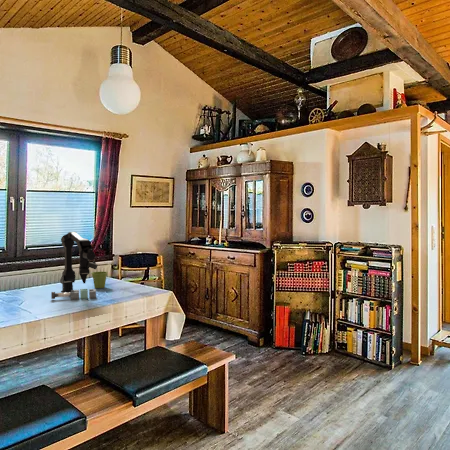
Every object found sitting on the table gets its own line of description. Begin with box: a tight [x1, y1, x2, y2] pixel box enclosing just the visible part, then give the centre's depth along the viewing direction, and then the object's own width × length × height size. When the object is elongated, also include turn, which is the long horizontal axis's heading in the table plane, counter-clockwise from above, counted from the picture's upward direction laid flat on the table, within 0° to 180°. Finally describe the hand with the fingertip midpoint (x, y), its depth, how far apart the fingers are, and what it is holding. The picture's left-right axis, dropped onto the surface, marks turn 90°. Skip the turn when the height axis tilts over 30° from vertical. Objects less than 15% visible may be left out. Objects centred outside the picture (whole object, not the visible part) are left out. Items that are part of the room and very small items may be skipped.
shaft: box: [50, 291, 71, 300], centre depth 252 cm, size 16×4×4 cm, turn 111°
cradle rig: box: [70, 288, 97, 301], centre depth 256 cm, size 16×8×5 cm, turn 111°
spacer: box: [79, 288, 89, 300], centre depth 256 cm, size 4×6×6 cm
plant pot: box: [91, 271, 108, 289], centre depth 289 cm, size 12×12×11 cm
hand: (84, 282), depth 256 cm, fingers open, 9 cm apart
